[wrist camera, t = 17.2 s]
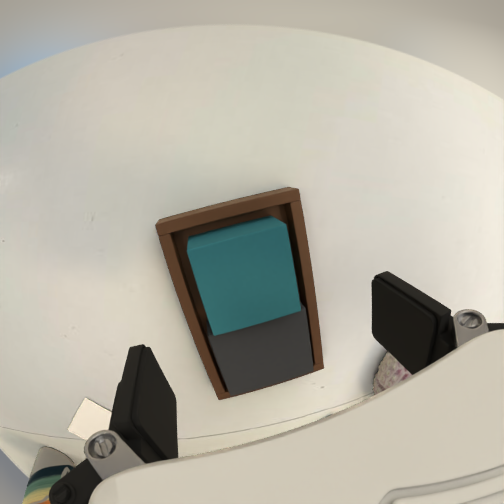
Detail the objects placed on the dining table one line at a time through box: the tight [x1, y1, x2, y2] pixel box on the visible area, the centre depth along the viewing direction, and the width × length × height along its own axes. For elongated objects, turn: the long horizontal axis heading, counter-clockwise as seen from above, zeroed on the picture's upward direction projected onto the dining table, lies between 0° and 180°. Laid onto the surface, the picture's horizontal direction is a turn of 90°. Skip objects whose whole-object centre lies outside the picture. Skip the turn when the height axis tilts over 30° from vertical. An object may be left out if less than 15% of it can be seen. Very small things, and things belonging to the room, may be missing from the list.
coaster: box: [67, 398, 112, 440], centre depth 23 cm, size 8×8×1 cm
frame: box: [155, 187, 324, 400], centre depth 21 cm, size 16×10×2 cm, turn 12°
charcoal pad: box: [206, 302, 314, 396], centre depth 22 cm, size 6×7×2 cm
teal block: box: [187, 215, 301, 336], centre depth 19 cm, size 6×6×4 cm
